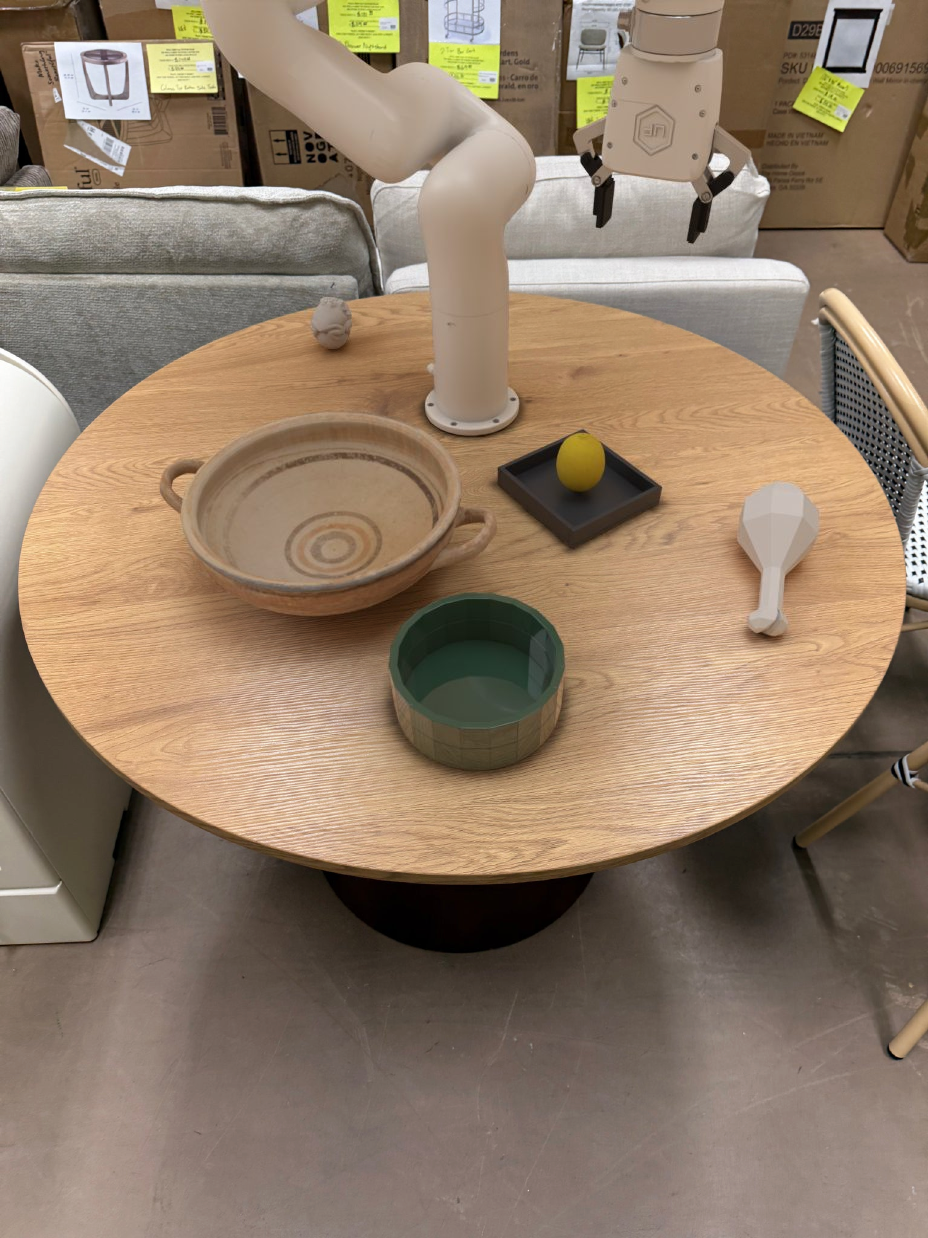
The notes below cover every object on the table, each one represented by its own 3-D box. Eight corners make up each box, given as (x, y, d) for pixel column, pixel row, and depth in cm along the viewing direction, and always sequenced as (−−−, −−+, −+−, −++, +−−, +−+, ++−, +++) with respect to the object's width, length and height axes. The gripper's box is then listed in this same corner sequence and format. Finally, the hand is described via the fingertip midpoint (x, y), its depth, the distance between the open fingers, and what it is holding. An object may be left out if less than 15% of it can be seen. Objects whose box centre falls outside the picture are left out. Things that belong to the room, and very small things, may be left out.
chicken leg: (707, 635, 83) (758, 600, 76) (724, 499, 91) (772, 456, 84) (777, 664, 84) (833, 633, 77) (787, 527, 93) (839, 488, 86)
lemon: (600, 476, 98) (607, 420, 92) (601, 506, 94) (608, 450, 88) (555, 475, 99) (559, 418, 93) (553, 504, 95) (557, 448, 89)
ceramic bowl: (119, 620, 85) (83, 550, 78) (242, 459, 103) (222, 389, 96) (457, 693, 78) (454, 623, 70) (526, 505, 96) (529, 434, 88)
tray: (497, 484, 99) (497, 466, 97) (581, 445, 103) (582, 428, 101) (571, 549, 91) (573, 531, 89) (659, 504, 95) (662, 486, 93)
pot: (365, 683, 79) (357, 640, 74) (496, 614, 84) (496, 569, 79) (455, 801, 70) (452, 760, 65) (594, 715, 76) (601, 671, 71)
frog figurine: (363, 337, 123) (357, 293, 118) (342, 360, 119) (335, 315, 113) (327, 331, 125) (320, 287, 119) (305, 354, 120) (297, 309, 115)
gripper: (567, 33, 72) (556, 231, 85) (765, 51, 67) (722, 259, 79) (596, 14, 76) (581, 204, 89) (783, 29, 71) (739, 229, 84)
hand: (647, 230), depth 84 cm, fingers open, 9 cm apart
